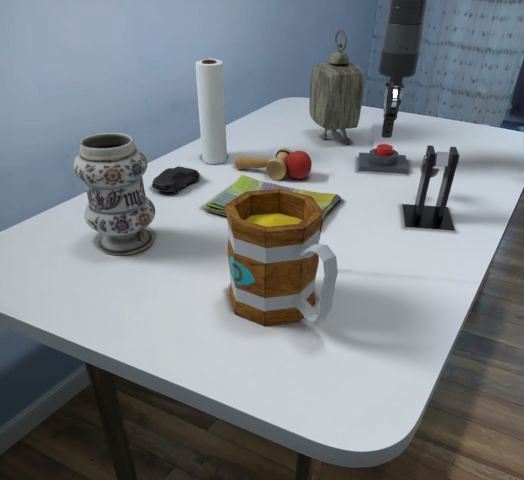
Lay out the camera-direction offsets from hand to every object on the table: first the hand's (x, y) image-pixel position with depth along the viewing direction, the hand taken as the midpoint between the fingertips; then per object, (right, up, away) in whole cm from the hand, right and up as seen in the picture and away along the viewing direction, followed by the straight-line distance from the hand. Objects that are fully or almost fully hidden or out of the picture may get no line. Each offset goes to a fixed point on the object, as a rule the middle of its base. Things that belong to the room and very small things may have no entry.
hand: (386, 136), depth 112 cm
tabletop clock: (-10, +8, +21) cm, 25 cm away
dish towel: (-26, -20, -11) cm, 34 cm away
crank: (+5, -15, -18) cm, 24 cm away
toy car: (-47, -12, -2) cm, 49 cm away
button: (0, -3, +3) cm, 4 cm away
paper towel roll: (-39, -2, +10) cm, 41 cm away
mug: (-25, -42, -37) cm, 62 cm away
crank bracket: (+4, -23, -15) cm, 28 cm away
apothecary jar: (-53, -29, -22) cm, 64 cm away
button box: (0, -6, +5) cm, 8 cm away
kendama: (-26, -8, +3) cm, 27 cm away
